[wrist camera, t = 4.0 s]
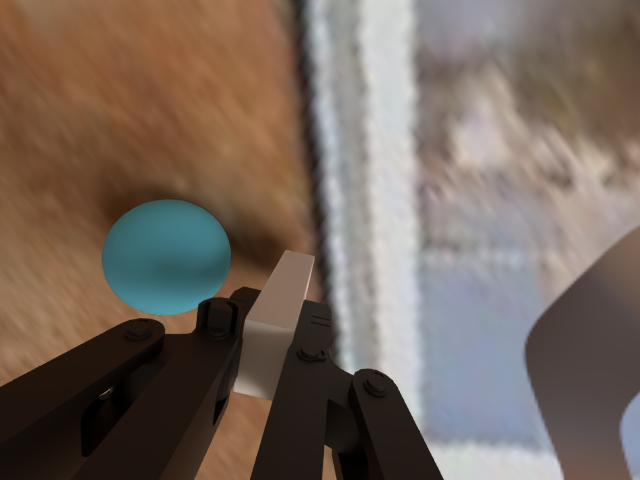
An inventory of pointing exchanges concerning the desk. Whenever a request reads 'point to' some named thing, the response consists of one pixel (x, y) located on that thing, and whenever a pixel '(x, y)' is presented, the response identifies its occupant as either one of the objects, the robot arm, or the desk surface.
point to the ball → (166, 257)
